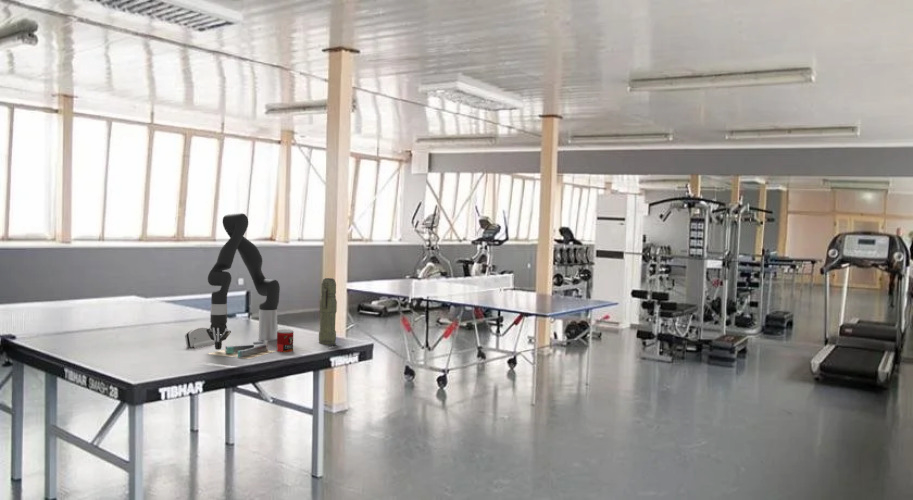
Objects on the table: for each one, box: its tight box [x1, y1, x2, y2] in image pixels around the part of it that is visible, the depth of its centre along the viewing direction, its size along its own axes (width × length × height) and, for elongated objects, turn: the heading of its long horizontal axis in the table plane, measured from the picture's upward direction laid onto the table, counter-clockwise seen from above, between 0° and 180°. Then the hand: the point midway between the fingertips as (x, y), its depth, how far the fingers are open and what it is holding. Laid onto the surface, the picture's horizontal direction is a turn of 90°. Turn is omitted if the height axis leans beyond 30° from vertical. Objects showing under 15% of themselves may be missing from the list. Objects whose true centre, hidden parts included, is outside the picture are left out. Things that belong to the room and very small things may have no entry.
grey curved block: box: [184, 327, 215, 350], centre depth 345 cm, size 17×5×10 cm, turn 160°
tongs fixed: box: [237, 340, 269, 359], centre depth 323 cm, size 20×3×5 cm, turn 161°
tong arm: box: [224, 341, 264, 354], centre depth 325 cm, size 18×3×4 cm, turn 123°
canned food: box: [276, 329, 294, 353], centre depth 333 cm, size 8×8×11 cm
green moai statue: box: [318, 277, 338, 347], centre depth 359 cm, size 9×12×35 cm
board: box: [207, 348, 277, 360], centre depth 325 cm, size 21×24×1 cm
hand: (218, 349), depth 324 cm, fingers closed
